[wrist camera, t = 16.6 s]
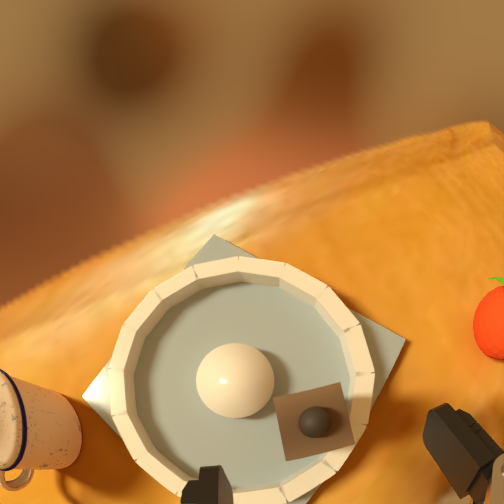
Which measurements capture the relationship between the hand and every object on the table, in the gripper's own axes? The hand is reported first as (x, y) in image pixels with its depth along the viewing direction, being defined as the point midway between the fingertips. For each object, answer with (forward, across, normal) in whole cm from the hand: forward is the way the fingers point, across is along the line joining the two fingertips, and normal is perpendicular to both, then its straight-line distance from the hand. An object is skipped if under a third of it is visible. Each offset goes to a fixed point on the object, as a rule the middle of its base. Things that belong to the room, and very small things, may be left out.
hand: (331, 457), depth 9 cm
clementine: (+13, -20, +8) cm, 25 cm away
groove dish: (+14, +4, +6) cm, 16 cm away
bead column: (+10, 0, +8) cm, 13 cm away
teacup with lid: (+11, +25, +10) cm, 29 cm away
